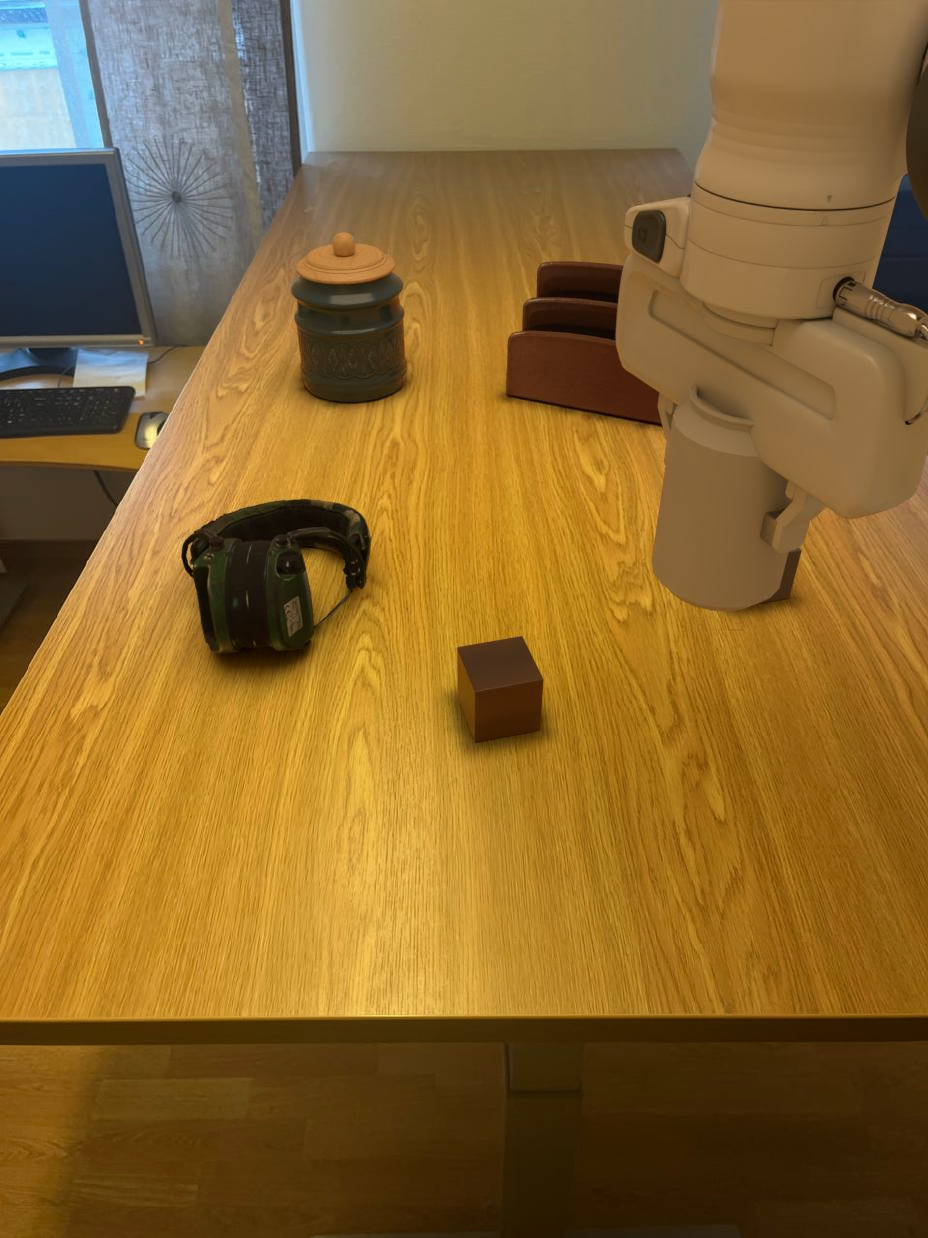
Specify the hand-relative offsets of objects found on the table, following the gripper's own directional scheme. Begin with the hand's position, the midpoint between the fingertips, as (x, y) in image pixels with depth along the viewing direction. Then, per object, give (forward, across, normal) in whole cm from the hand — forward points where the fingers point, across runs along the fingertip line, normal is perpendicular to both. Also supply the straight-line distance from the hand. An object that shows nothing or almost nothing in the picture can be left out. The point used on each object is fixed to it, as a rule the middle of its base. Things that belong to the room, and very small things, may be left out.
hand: (728, 504), depth 53 cm
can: (+5, 0, 0) cm, 5 cm away
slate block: (+21, +15, -18) cm, 32 cm away
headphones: (+22, +30, +20) cm, 42 cm away
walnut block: (+21, +10, +9) cm, 25 cm away
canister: (+22, +70, -2) cm, 73 cm away
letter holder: (+22, +54, -27) cm, 64 cm away
